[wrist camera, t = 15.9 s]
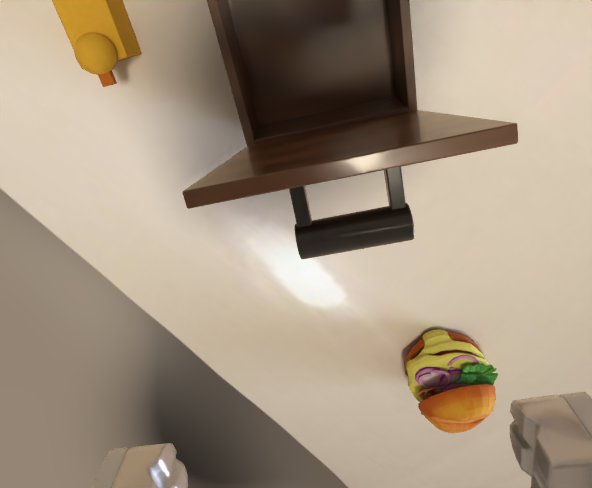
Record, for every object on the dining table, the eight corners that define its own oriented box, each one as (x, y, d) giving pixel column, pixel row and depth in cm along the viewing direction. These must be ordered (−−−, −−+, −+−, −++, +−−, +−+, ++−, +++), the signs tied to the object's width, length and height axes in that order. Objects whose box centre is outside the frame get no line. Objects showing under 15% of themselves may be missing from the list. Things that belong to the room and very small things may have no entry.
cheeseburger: (475, 313, 50) (515, 391, 42) (480, 358, 56) (515, 432, 49) (391, 336, 51) (416, 415, 44) (406, 377, 58) (429, 452, 51)
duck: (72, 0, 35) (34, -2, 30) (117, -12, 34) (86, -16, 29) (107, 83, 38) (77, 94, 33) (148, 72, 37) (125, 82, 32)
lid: (181, 191, 18) (211, 291, 19) (517, 122, 16) (522, 237, 18) (246, 146, 34) (260, 203, 36) (418, 110, 33) (425, 170, 34)
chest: (199, -79, 32) (180, -96, 27) (382, -130, 30) (397, -158, 25) (255, 132, 40) (248, 150, 35) (402, 100, 38) (417, 114, 33)
